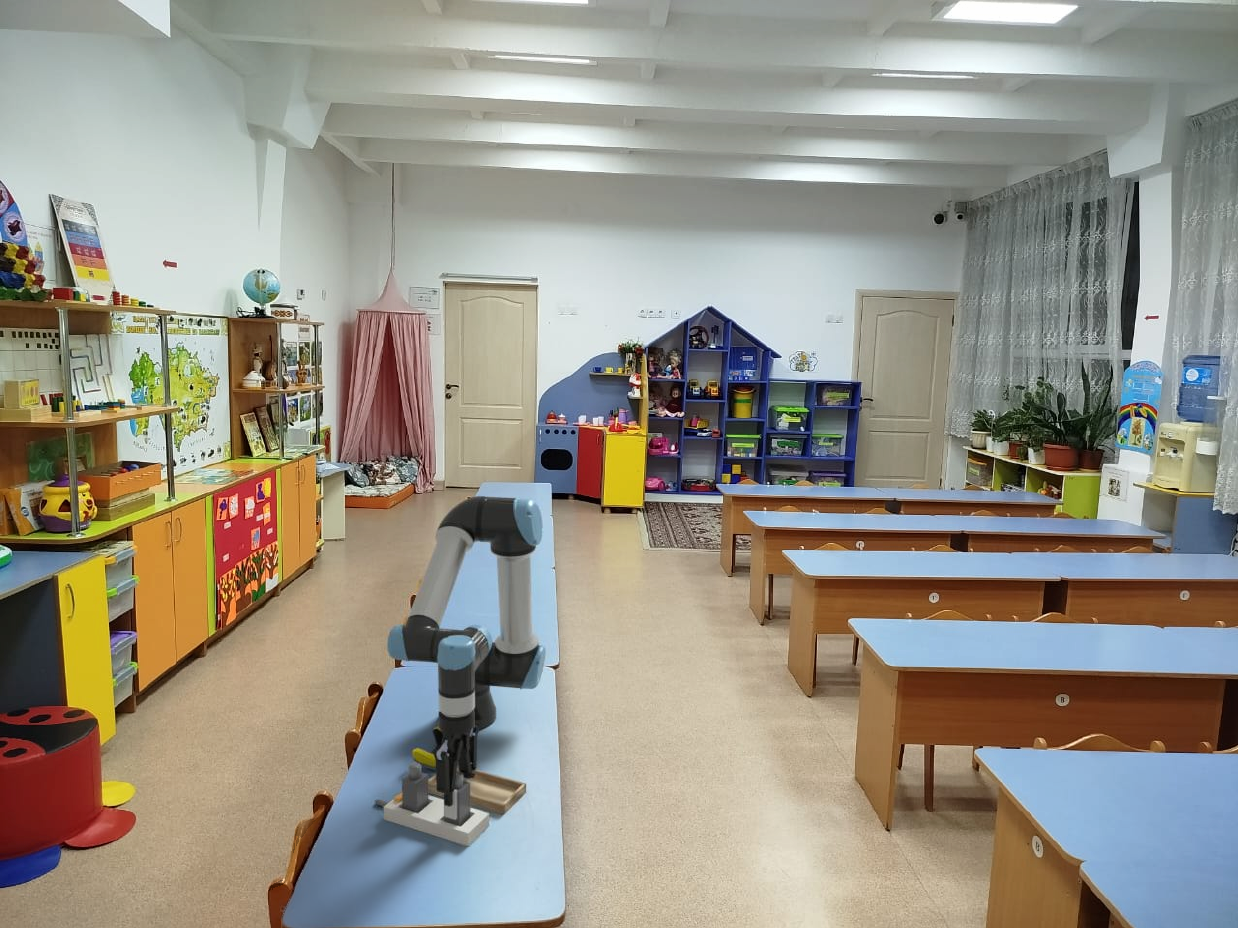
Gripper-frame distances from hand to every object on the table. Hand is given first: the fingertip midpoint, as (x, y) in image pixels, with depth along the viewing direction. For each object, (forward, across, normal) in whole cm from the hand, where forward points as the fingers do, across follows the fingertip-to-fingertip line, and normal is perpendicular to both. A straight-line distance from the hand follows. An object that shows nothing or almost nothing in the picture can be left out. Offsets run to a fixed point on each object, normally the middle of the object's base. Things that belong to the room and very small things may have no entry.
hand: (457, 811), depth 179 cm
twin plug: (+4, 0, -11) cm, 12 cm away
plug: (+3, 0, 0) cm, 3 cm away
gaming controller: (+5, -22, -20) cm, 31 cm away
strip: (+4, 0, -8) cm, 9 cm away
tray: (+4, -14, -4) cm, 15 cm away
